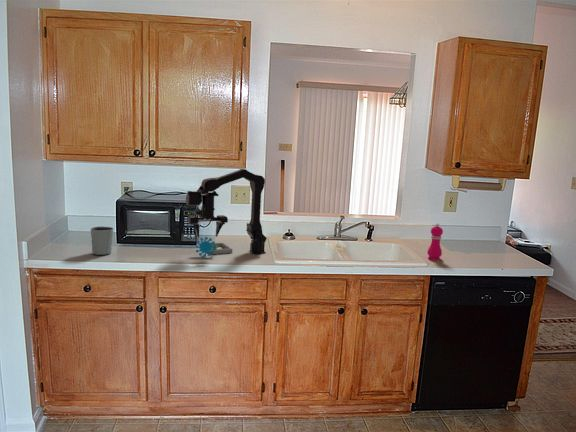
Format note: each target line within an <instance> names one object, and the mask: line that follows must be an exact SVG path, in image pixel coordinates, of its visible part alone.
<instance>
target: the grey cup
mask: <svg viewBox="0 0 576 432" xmlns="http://www.w3.org/2000/svg"><path fill="white" fill-rule="evenodd" d="M113 235H114V227H110V226H94V227H91V228H90V236H91V245H92V246H91V252H92V254H93V255H97V256H98V255H99V256H102V255H104V256H105V255H110V254H111V253H112V249H113V248H112V246H113Z"/></svg>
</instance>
